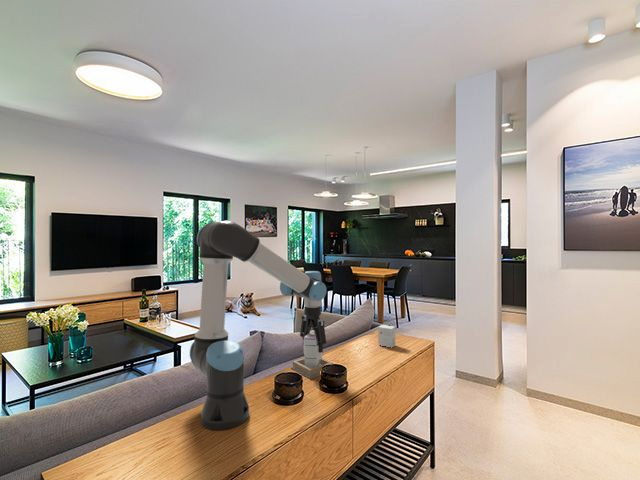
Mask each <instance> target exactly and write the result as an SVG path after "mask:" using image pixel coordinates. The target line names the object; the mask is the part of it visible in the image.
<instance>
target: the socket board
mask: <svg viewBox="0 0 640 480" xmlns="http://www.w3.org/2000/svg"><path fill="white" fill-rule="evenodd" d="M326 365H333V366H334V362H332V361H329V360H327V359H325V358H323V357H322V359H320V365H319V366H318V367H315V368H311V369H310V368H308V367H306V366H305V357H302V358H299V359H296V360H293V361H292V365H291V366H290V369H291V370H294V371H295V372H297V373H299V374H301V375H302V376H303V377H305V378H307V377H308V378H307V379H314V378H316V377H319V376H321V375H320V371H321V368H322V367H324V366H326Z"/></svg>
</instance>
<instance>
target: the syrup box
mask: <svg viewBox="0 0 640 480" xmlns="http://www.w3.org/2000/svg"><path fill="white" fill-rule="evenodd" d="M317 344H318V343H317V340H316V336H315V332H313V333H312V332H310V333H308V334H307V335H306V336H305V337H304V346H303V355H304V358H305V366H306V367H308V368H310V369H311V368H315V367H318V366H319V365H320V360H316V345H317Z"/></svg>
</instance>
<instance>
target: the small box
mask: <svg viewBox="0 0 640 480" xmlns="http://www.w3.org/2000/svg"><path fill="white" fill-rule="evenodd" d="M377 328H378V329H377V330H378V332H377V335H378V337H377V339H378V344H377V345H381V346H380V347H382V346H386V347H385V348H387V347H393V348H394V347H395V346H396V326H393V325H387V324H386V325H385V324H381V325H379V326H378V327H377Z"/></svg>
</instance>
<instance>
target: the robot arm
mask: <svg viewBox="0 0 640 480" xmlns="http://www.w3.org/2000/svg"><path fill="white" fill-rule="evenodd" d="M196 235H197V236H196V244H197V246H198V248H199V259H200V260H201V262H202V263H203V270H202V286H201V300H200V301H201V302H200V314H199V315H200V317H199V318H200V319H199V330H198V331H196V332H195V333H194V338H193V339H194V341H193V342H192V343H191V345H190V348H189V358H190V359H189V360H190V361H191V363H192V364H193V366H194V367H195V368H196V369H197V370H199V371H200V372H201V373H202V374H203V375H204V376H205V377H206V397H205V400H204V404H203V405H202V406H203V407H202V410H201V413H200V422H201V423H200V424H201V425H202V426H203V427H205V428H206V429H209V430H212V431H224V430H229V429H233V428H236V427H238V426H240V425H242V424H243V423H245V422H246V421H247V420H248V419H249V416H250V406H249V403H248V400H247V397H246V395H245V391H244V387H245V385H244V384H245V383H244V382H245V381H244V379H245V378H244V376H245V375H244V373H245V369H244V368H245V365H244V364H245V354H244V348H243V346H242V345H241V344H240V343H239V342H236V341H233V340H232V341H231V340H229V332H228V331H227V330H226V328H225V325H226V307H227V306H226V305H227V293H228V291H227V290H228V288H227V286H228V273H229V272H228V271H229V264H230V263H231V262H232V261H233V260H234V258H236V259H238V260H240V262H241V261H242V262H243V263H245V262H246V263H247V262H249V263H250V264H252V265H253V266H256V267H257V268H258V269H260V270H262V271H263V272H264V273H267V275H269V276H271V277H273V278H274V279H276V280H277V281H279V282H280V283H279V291H280V293H281V295H283V296H285V297H291V296H295V297H297V298H304V299H303V301H304V302H303V305H304V307H303V311H304V315H302V316H301V324H300V332H299V337H302V346H303V347H304V337H305V336H306V335H307V334H308V333H311V329H312V331H313V333H315V336H316V340H317V343H318V344H317V345H316V360H320V359H322V358H323V352H324V345H326V344H327V338H326V328H325V320H321V319H320V316H321V314H322V307H321V305H322V300H324V299H325V297H326V295H327V286H326V284H325V283H323V282H322V281H323V280H322V274H321V272H320V271H318V270H308V271H307V270H306V271H304V272H303V271H302V270H300V269H299V268H297V267H296V266H294V265H293V264H291V263H290V262H289V261H287V260H286V259H284V258H283V257H281V256H280V255H278V254H277V253H275V252H274V251H272V250H271V249H270V248H268V247H267V246H265V245H263V244H262V243H261V240H260V238H259V237H257V236H256V235H254V234H253V233H252V232H251V231H249V230H247V229H246V228H244V227H243V226H242V225H240V224H238V223H236V222H234V221H230V220H222V221H212V222H208V223H206V224H205V225H204V224H203V226H201V228H200V229H199V230H198V232H197V234H196Z"/></svg>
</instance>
